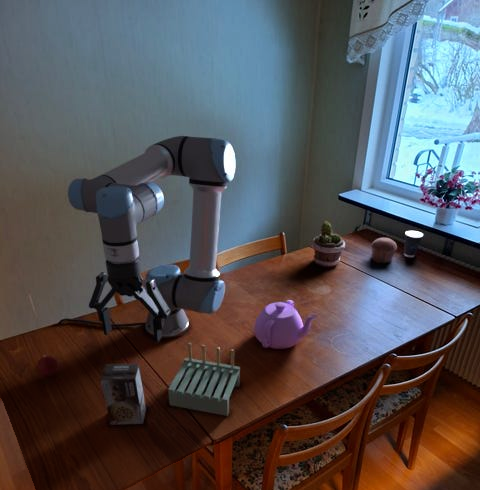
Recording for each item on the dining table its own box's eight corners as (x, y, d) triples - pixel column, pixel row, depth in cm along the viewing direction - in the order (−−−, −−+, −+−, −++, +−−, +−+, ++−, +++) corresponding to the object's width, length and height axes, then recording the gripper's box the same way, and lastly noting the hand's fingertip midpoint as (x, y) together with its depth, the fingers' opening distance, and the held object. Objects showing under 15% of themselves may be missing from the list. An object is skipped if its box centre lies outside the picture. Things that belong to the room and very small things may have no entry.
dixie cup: (404, 250, 219) (409, 229, 213) (420, 255, 215) (425, 233, 209) (397, 255, 214) (402, 233, 208) (413, 260, 210) (419, 238, 204)
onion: (53, 367, 141) (48, 346, 137) (64, 374, 138) (58, 354, 134) (36, 376, 137) (30, 355, 133) (46, 384, 134) (40, 363, 130)
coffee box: (146, 407, 126) (140, 363, 118) (143, 424, 121) (136, 379, 112) (114, 408, 126) (105, 363, 117) (109, 425, 121) (99, 379, 112)
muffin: (371, 263, 206) (375, 243, 201) (366, 253, 216) (370, 234, 210) (397, 264, 206) (401, 244, 201) (391, 254, 215) (395, 234, 210)
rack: (169, 405, 127) (165, 369, 120) (186, 374, 139) (183, 340, 132) (227, 416, 124) (227, 380, 117) (239, 383, 135) (240, 349, 128)
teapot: (301, 367, 142) (305, 331, 135) (241, 347, 151) (242, 312, 143) (324, 333, 158) (329, 299, 151) (269, 316, 167) (271, 284, 160)
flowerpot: (348, 267, 203) (355, 225, 192) (317, 271, 199) (322, 229, 188) (334, 254, 214) (340, 214, 203) (304, 258, 211) (308, 217, 200)
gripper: (63, 258, 100) (80, 336, 111) (168, 271, 95) (174, 351, 107) (80, 246, 106) (95, 321, 117) (180, 257, 102) (185, 334, 113)
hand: (133, 335), depth 112 cm, fingers open, 13 cm apart
